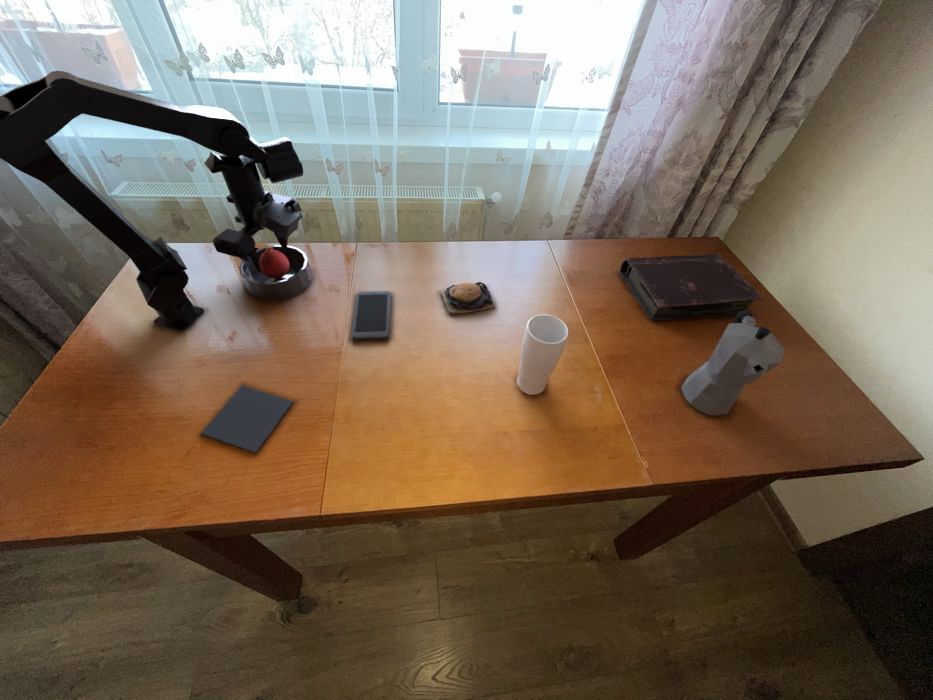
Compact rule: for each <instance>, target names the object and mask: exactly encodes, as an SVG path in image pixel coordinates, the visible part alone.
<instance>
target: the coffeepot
mask: <svg viewBox="0 0 933 700" xmlns="http://www.w3.org/2000/svg"><path fill="white" fill-rule="evenodd" d="M753 316H754V315H753V312H752V311H751V310H750V309H748V310H746V311H741V312H739V313H738V314H737V315H736V316H734V319H733V321H732V322H731V323H730V322H729V323H728V325H727V326H726V328H725V330H724V332H723V334H722V335H721V337H720V339H719V341H718V343H717V345H716V346H715V348H714V350H713V353H712V354H711V356H710V358H709V359H708V360H707V361H705V363H703V364H702V365H701V366H700V367H698V368H697V369H696V370H694V371H692V373H690V375H688V376H687V377H686V378H685V381H684V382H683V384H682V386H681V387H680V389H681V392H682V394H683V397H684V398H685V400H686V402H687V403H688V404H689V405H690V406H691V407H692V408H694V409H695V410H697V411H699V412H701V413H703V414H705V415H708V416H715V417H716V416H723V415H728V414H729V412H730V411H731V409H732V408H733V406H734V405H735V403H736V401H737V400H738V398H739V396H740V395H741V393H742V391H743V389H744V388H745V386H746V385H750V384H753V383H754V382H755V381H757V380H758V379H760V378H761V377H763V376H764V375H766V374H767V373H769V372H770V371H771V370H773V369H774V368H776V367H778V366H779V365H781V363H782V361H783V358H784V355H785V353H786V349H785V348H784V346H783V345H782V343H780V341H779V340H778V339H777V337H775V335H774V334H773V333H771V330H769V328H768V327H765V326H756V324H757V323H756V318H755V317H753Z"/></svg>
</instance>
